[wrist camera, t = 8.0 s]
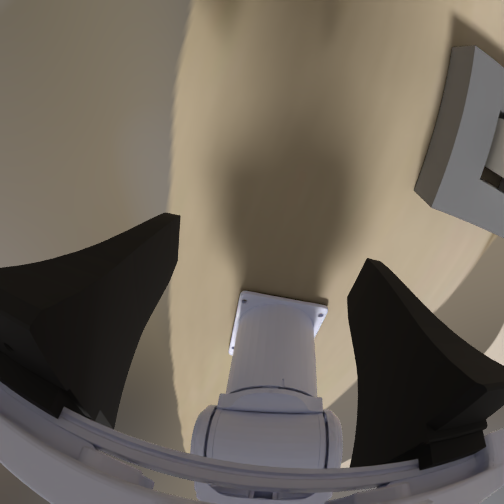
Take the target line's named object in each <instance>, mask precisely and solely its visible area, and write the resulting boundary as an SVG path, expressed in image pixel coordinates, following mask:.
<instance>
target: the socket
mask: <svg viewBox="0 0 504 504" xmlns="http://www.w3.org/2000/svg"><path fill="white" fill-rule="evenodd" d="M498 118H501V119H504V68H503V67H502V66H501V65H500V64H499V63H498V62H496V61H495V60H494V59H493V58H491V57H490V56H489V55H488V54H486V53H485V52H484V51H482V50H481V49H480V48H478V47H477V46H475V45H473V46H460V47H452V52H451V58H450V64H449V70H448V75H447V80H446V85H445V89H444V94H443V98H442V102H441V106H440V110H439V114H438V118H437V122H436V125H435V129H434V132H433V136H432V139H431V142H430V146H429V149H428V152H427V155H426V158H425V161H424V164H423V167H422V170H421V173H420V175H419V178H418V181H417V184H416V186H415V189H414V191H415V192H416V193H417V194H418V195H419V196H420V197H421V198H422V199H423V200H424V201H425V202H426V203H427V204H428V205H429V206H430V207H431V208H434V209H436V210H439V211H442V212H444V213H447V214H449V215H452V216H454V217H457V218H459V219H462V220H464V221H467V222H469V223H471V224H474V225H476V226H478V227H480V228H483V229H485V230H487V231H489V232H492V233H494V234H496V235H498V236H500V237H503V238H504V178H503V177H502V180H501V182H500V185H499V188H497V187H495V186H493V185H492V184H490V183H488V182H487V181H485V180H483V179H482V178H480V177H481V175H482V172H483V169H484V166H485V163H486V160H487V157H488V154H489V151H490V147H491V144H492V140H493V137H494V133H495V129H496V126H497V121H498Z"/></svg>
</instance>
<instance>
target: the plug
mask: <svg viewBox="0 0 504 504" xmlns="http://www.w3.org/2000/svg"><path fill="white" fill-rule="evenodd" d="M485 167H487V168H488V169H490V170H492V171H493V172H495V173H497V174H498V175H500V176H501V177H503V178H504V119H501V118H498V121H497V126H496V129H495V133H494V137H493V140H492V144H491V147H490V151H489V154H488V157H487V160H486V163H485Z"/></svg>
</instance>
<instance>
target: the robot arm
mask: <svg viewBox="0 0 504 504" xmlns="http://www.w3.org/2000/svg"><path fill="white" fill-rule="evenodd" d="M179 230H180V215H175V214H170V213H163V214H160V215H158V216H156V217H154V218H152V219H150V220H148V221H146V222H144V223H142V224H140V225H138V226H135V227H133V228H132V229H130V230H128V231H125V232H123V233H121V234H119V235H117V236H114V237H112V238H110V239H108V240H106V241H103V242H101V243H99V244H96V245H94V246H91V247H88V248H85V249H83V250H80V251H77V252H74V253H70V254H67V255H63V256H60V257H57V258H53V259H49V260H45V261H41V262H36V263H31V264H25V265H19V266H11V267H4V268H0V463H2V465H4V466H5V467H6V468H7V469H8V470H9V471H10V472H11V473H12V474H14V475H15V476H16V477H17V478H18V479H20V480H21V481H22V482H23V483H24V484H26V485H27V486H28V487H29V488H31V489H32V490H33V491H35V492H36V493H37V494H39V495H40V496H41V497H43V498H44V499H46V500H47V501H48V502H50V503H51V504H479V503H481V502H482V501H484V500H485V499H486V498H488V497H489V496H490V495H492V494H493V493H494V492H496V491H497V490H499V489H500V488H502V487H503V486H504V428H501V429H499V430H496V431H494V432H491V433H489V434H487V435H485V436H484V434H483V430H484V429H486V428H487V422H486V419H487V418H488V417H489V416H491V415H492V414H493V413H495V412H496V411H497V410H498V409H500V408H501V407H502V406H503V405H504V366H503V365H501V364H499V363H497V362H496V361H494V360H492V359H490V358H489V357H487V356H486V355H484V354H483V353H481V352H480V351H478V350H476V349H475V348H474V347H472V346H471V345H469V344H468V343H467V342H466V341H464V340H463V339H462V338H460V337H459V336H458V335H457V334H455V333H454V332H453V331H452V330H450V329H449V328H448V327H447V326H446V325H445V324H444V323H443V322H442V321H440V320H439V319H438V318H437V317H436V316H435V315H434V314H433V313H432V312H431V311H430V310H429V309H428V308H427V307H426V306H425V305H424V304H423V303H422V302H421V301H420V300H419V299H418V298H417V297H416V296H415V295H414V294H413V293H412V292H411V291H410V290H409V289H408V288H407V286H406V285H405V284H404V283H403V282H402V281H401V280H400V279H399V278H398V277H397V276H396V275H395V274H394V273H393V272H392V271H391V270H390V269H389V268H388V267H387V266H385V265H384V264H383V263H382V262H380V261H377V260H373V259H369V258H367V259H366V261H365V263H364V265H363V267H362V269H361V271H360V273H359V275H358V277H357V279H356V281H355V283H354V285H353V287H352V289H351V291H350V293H349V295H348V297H347V304H348V320H349V326H350V332H351V337H352V343H353V348H354V354H355V360H356V366H357V375H358V411H357V425H356V435H355V442H354V448H353V454H352V459H351V464H350V468H340V466H341V460H342V450H343V449H342V448H343V440H342V429H341V424H340V421H339V418H338V417H337V416H336V415H335V414H334V413H333V411H331V410H328V409H327V410H323V404H322V398H321V397H317V379H316V359H315V343H314V338H315V336H316V334H317V332H318V330H319V328H320V326H321V324H322V322H323V320H324V318H325V316H326V314H327V312H328V308H327V306H326V305H321V304H316V303H310V302H304V301H298V300H293V299H287V298H282V297H277V296H271V295H266V294H261V293H256V292H251V291H242V292H241V293H240V297H239V302H238V307H237V312H236V317H235V322H234V327H233V332H232V337H231V342H230V347H229V354H230V355H233V357H232V362H231V368H230V373H229V379H228V384H227V389H226V394H220V396H219V401H218V405H209V406H208V407H207V408H206V409H205V410H203V411H202V412H201V413H200V414H199V416H198V418H197V420H196V423H195V426H194V430H193V434H192V440H191V453H190V454H189V453H185V452H181V451H177V450H173V449H170V448H166V447H163V446H160V445H156V444H153V443H150V442H147V441H144V440H141V439H138V438H135V437H132V436H129V435H127V434H124V433H121V432H119V431H116V430H114V427H115V422H116V417H117V412H118V408H119V404H120V399H121V395H122V392H123V388H124V384H125V381H126V377H127V374H128V371H129V368H130V365H131V362H132V359H133V356H134V353H135V350H136V348H137V345H138V342H139V340H140V337H141V334H142V332H143V330H144V328H145V326H146V324H147V322H148V320H149V318H150V316H151V314H152V313H153V311H154V309H155V307H156V305H157V303H158V302H159V300H160V298H161V296H162V294H163V292H164V290H165V289H166V287H167V285H168V283H169V281H170V279H171V276H172V274H173V271H174V269H175V266H176V264H177V261H178V246H179ZM243 299H245V300H247V301H244V300H243ZM320 313H322V314H320ZM99 450H100V451H102V452H105V453H107V454H109V455H112V456H114V457H117V458H119V459H122V460H125V461H127V462H130V463H133V464H136V465H138V466H141V467H144V468H148V469H150V470H154V471H157V472H160V473H164V474H167V475H171V476H175V477H179V478H183V479H187V480H191V481H194V484H195V491H196V492H197V495H196V497H197V498H198V499H199V500H200V501H198V500H193V499H188V498H184V497H179V496H175V495H171V494H167V493H163V492H159V491H156V490H153V486H154V482H153V481H152V480H151V479H149V478H147V477H145V476H143V475H142V472H141V470H139V469H137V468H134V467H132V466H130V465H127V464H125V463H123V462H121V461H119V460H116V459H114V458H112V457H110V456H108V455H106V454H104V453H102V452H100V451H99ZM375 487H377V488H376V489H373V490H368V491H362V492H357V493H355V494H353V495H350V496H347V497H344V498H340V499H335V500H329V499H330V498H331V497H332V492H340V491H351V490H360V489H368V488H375Z"/></svg>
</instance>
